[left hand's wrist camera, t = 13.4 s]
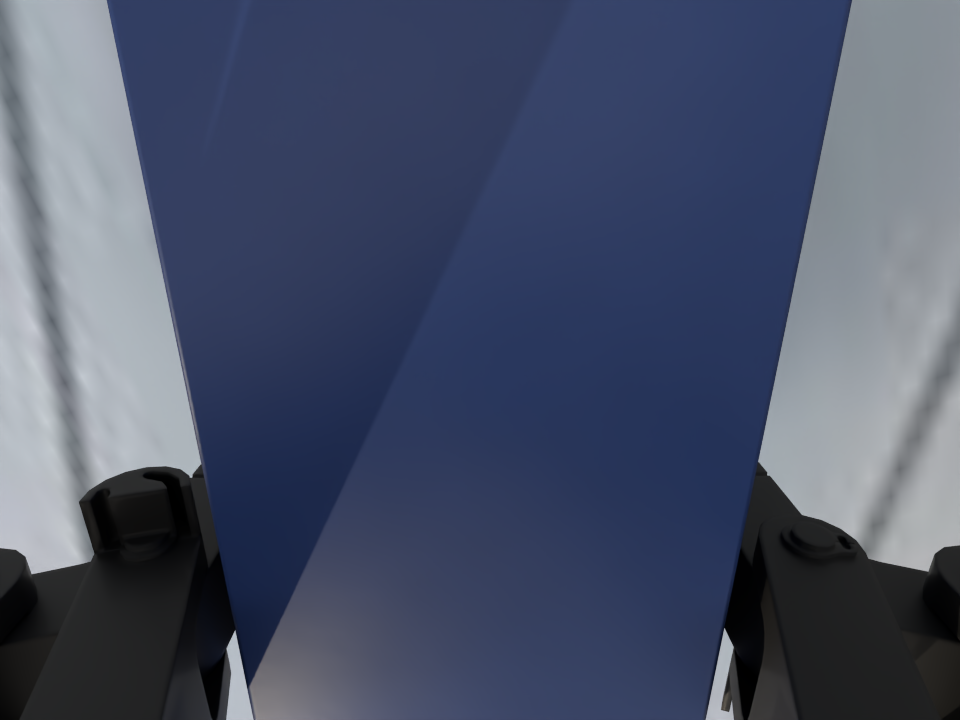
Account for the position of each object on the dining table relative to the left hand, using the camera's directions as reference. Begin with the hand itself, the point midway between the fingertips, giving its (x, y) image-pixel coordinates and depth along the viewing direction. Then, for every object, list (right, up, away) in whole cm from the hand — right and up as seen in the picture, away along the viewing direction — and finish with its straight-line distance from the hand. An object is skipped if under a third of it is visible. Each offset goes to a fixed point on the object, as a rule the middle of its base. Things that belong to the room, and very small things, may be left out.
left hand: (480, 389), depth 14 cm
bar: (0, +12, -4) cm, 12 cm away
